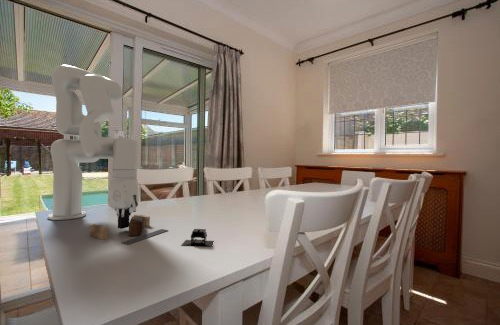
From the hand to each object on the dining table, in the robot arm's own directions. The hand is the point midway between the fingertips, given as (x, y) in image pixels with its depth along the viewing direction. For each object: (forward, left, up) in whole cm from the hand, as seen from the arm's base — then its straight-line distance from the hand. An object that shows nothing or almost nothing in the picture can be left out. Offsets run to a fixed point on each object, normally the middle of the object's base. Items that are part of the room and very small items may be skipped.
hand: (123, 227), depth 85 cm
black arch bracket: (+29, +4, -2) cm, 29 cm away
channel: (-1, 0, -1) cm, 1 cm away
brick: (+4, +2, -1) cm, 5 cm away
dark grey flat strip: (+11, 0, -1) cm, 11 cm away
